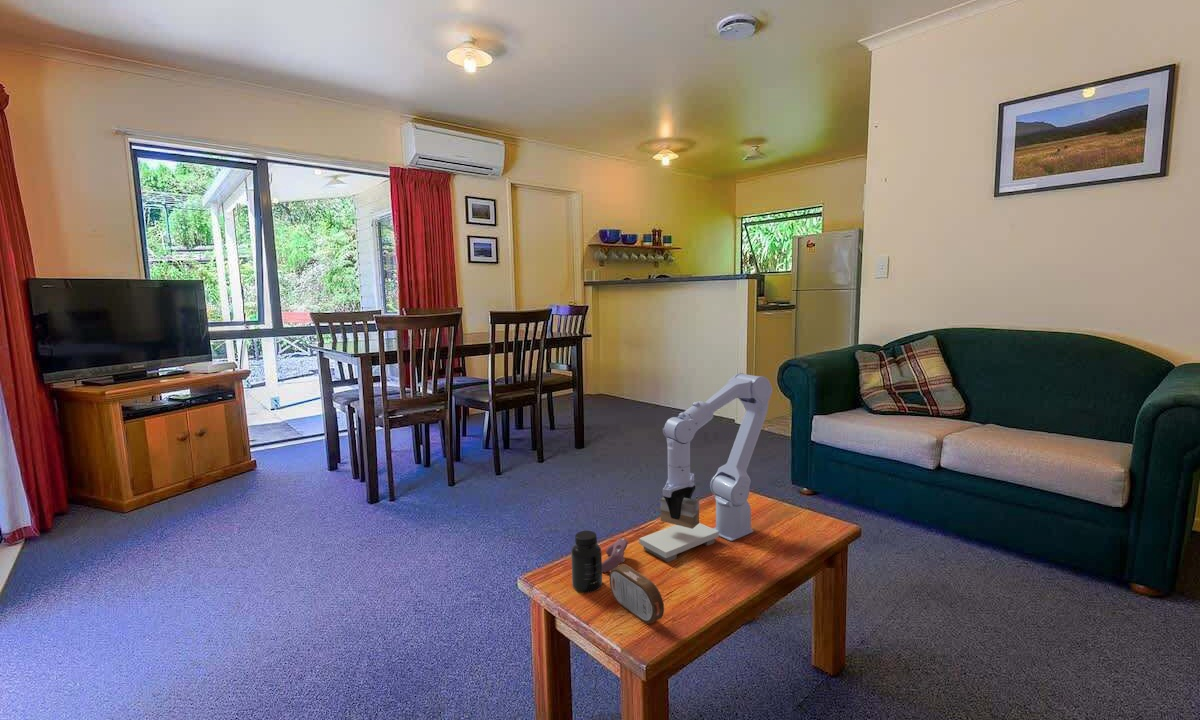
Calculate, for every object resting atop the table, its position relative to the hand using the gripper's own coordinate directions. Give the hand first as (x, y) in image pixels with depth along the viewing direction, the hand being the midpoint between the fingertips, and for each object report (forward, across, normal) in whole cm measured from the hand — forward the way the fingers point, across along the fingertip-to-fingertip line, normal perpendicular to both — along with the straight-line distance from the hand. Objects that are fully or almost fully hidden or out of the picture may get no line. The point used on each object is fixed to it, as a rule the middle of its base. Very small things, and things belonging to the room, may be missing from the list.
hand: (679, 515), depth 135 cm
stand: (+8, 0, 0) cm, 8 cm away
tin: (+9, -32, -5) cm, 33 cm away
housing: (+2, 0, 0) cm, 2 cm away
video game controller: (+9, -17, +9) cm, 21 cm away
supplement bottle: (+8, -29, +9) cm, 31 cm away
